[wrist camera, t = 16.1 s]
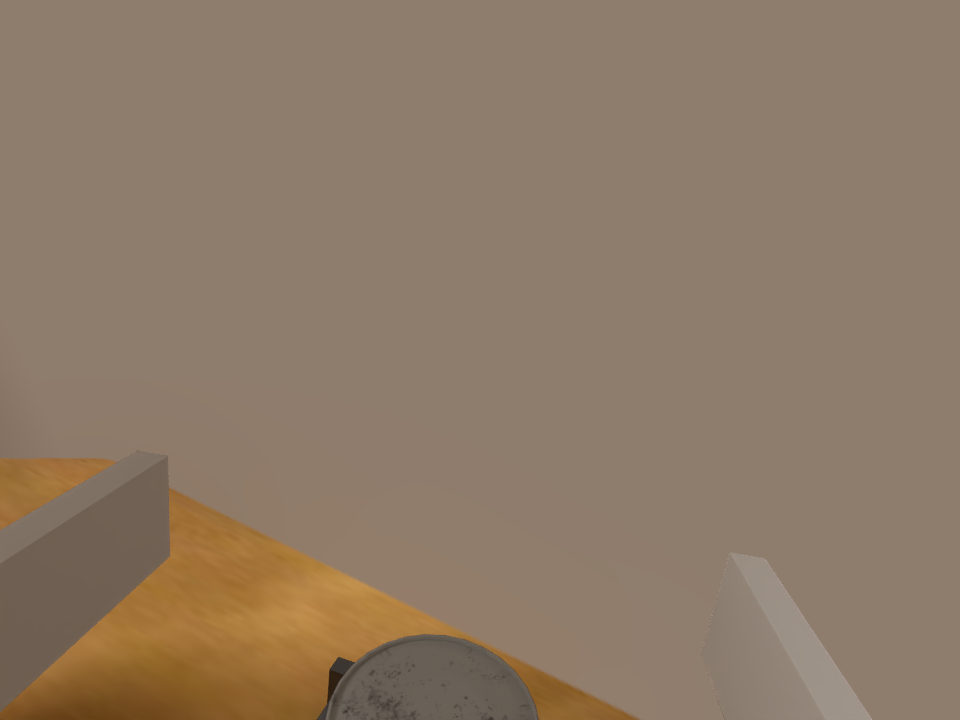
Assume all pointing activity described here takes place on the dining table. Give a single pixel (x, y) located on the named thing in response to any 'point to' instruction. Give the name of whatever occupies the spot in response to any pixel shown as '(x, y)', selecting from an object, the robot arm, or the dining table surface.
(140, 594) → the dining table surface
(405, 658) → the speckled tin can
